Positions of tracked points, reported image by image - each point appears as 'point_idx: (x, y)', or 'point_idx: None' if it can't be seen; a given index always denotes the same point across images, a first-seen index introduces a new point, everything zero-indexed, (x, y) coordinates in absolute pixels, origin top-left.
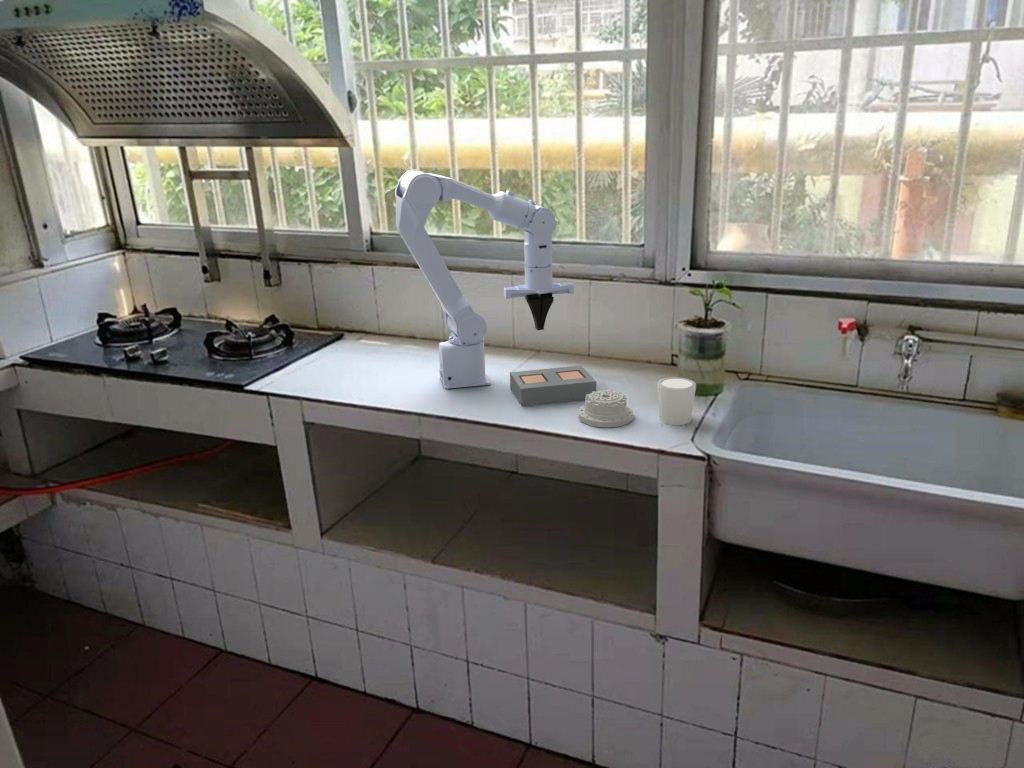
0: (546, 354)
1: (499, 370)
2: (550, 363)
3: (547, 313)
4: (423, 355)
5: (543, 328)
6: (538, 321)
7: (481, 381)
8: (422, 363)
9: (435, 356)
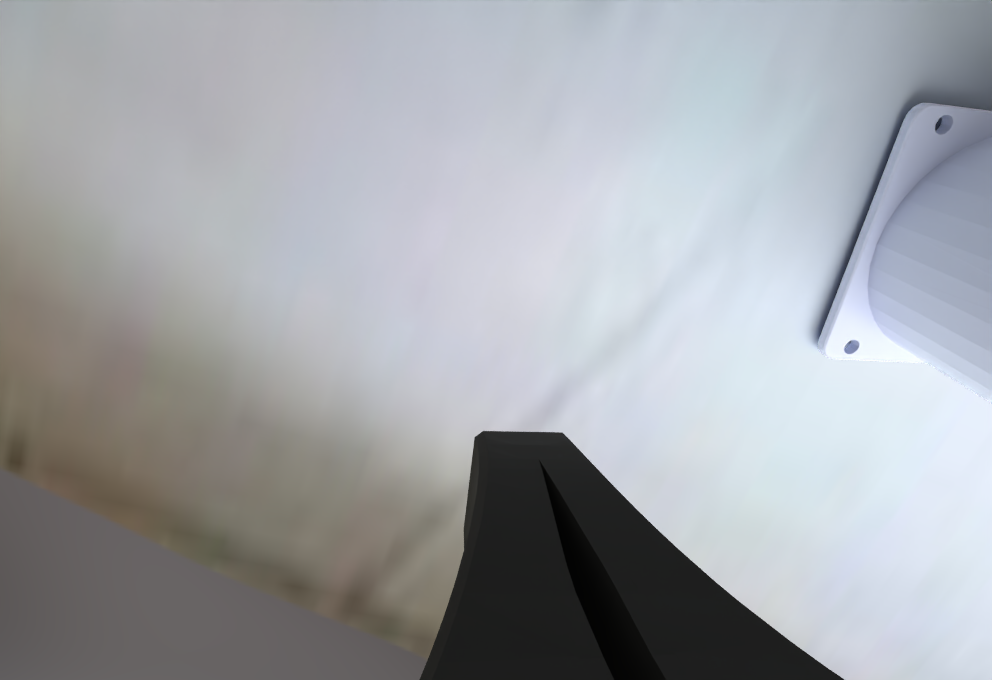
0: (320, 545)
1: (704, 366)
2: (343, 390)
3: (443, 619)
4: (902, 654)
5: (485, 436)
6: (603, 502)
7: (955, 151)
8: (970, 568)
9: (867, 634)
